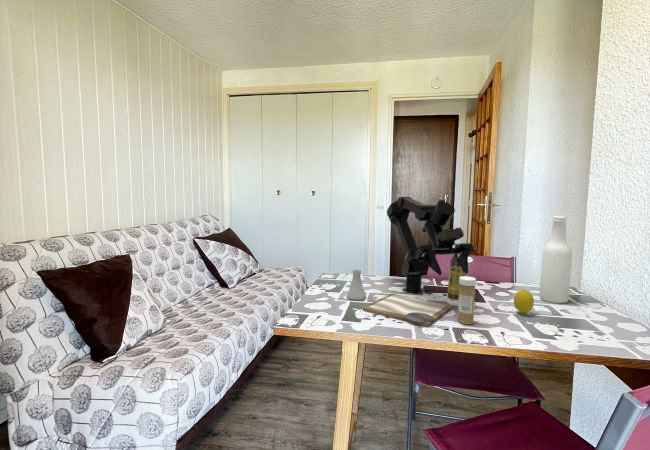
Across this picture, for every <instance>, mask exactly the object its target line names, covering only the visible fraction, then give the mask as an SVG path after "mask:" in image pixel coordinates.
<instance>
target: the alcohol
mask: <svg viewBox="0 0 650 450" xmlns="http://www.w3.org/2000/svg"><path fill="white" fill-rule="evenodd" d="M552 218H553V219H552V228H551V234H550V240H549V241H548V243H546V245H545V246H544V247H543V249H542V254H541V255H542V257H541V269H540V271H541V272H540V282H539V283H540V285H539V286H540V287H539V297H540V299H541V300H542V301H545V302H547V303H551V304H552V303H553V304H561V305H562V304H567V303H568V301H569V300H570V290H571V287H570V286H571V273H572V265H573V264H572V262H573V251H572V248H571V247H570V246H569V244H568V243H567V219H568V218H567V216H563V215H562V216H561V215H559V216H558V215H557V216H556V215H555V216H553V217H552Z"/></svg>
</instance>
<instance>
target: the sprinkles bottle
mask: <svg viewBox="0 0 650 450" xmlns="http://www.w3.org/2000/svg"><path fill="white" fill-rule="evenodd" d="M459 285H460V290H459V299H458V308H457V309H458V315H457V316H458V317H457V321H458V322H459V323H461V324H463V325H473V324H474V322H475V319H474V316H475V315H474V314H475V304H476V303H475V297H476V296H475V294H476V285H477V279H476V277H474V276H468V275H467V276H462V277H460V278H459Z"/></svg>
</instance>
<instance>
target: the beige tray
mask: <svg viewBox="0 0 650 450" xmlns="http://www.w3.org/2000/svg"><path fill="white" fill-rule="evenodd" d="M452 310H453V306H452V305H448V304H443V303H440V302H435V301H430V300H425V299H421V298H415V297H412V296H411V297H409V296H406V295H400V294H396V293H390V294H388V295H385V296H383V297H381V298H379V299H377V300H376V301H373V302H371V303H369V304H366V305H365V306H363V307H362V311H363V312H368V313H370V314H375V315H379V316H384V317H387V318H391V319H395V320H399V321H402V322H406V323H410V324H414V325H417V326H422V327H424V328H425V327H426V328H429V327H431V326H432V325H433V324H434V323H436V322H437V321H438V320H439V319H441V318H442V317H444V316H446V314H447V313H449V312H450V311H452Z"/></svg>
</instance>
